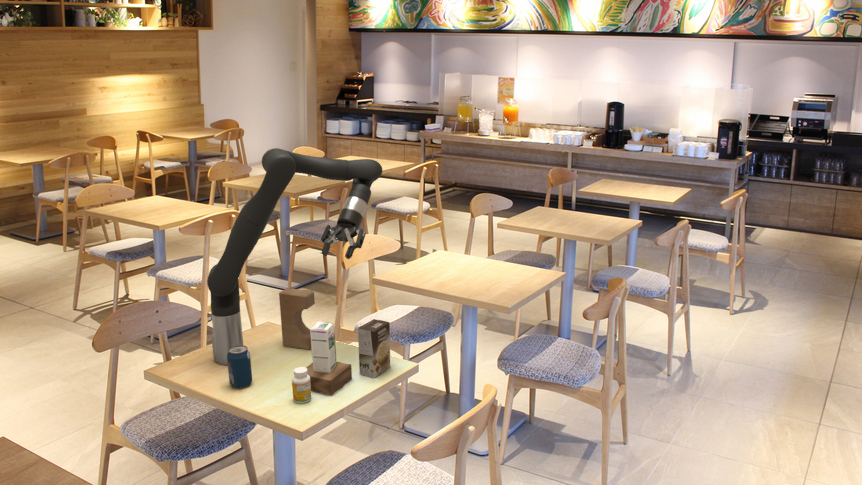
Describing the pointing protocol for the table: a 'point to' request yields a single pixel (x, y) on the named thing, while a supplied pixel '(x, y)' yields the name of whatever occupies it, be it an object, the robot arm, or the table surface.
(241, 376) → the soda can
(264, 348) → the table surface
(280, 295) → the decorative block
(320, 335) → the syrup box
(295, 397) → the supplement bottle
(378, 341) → the coffee box
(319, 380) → the walnut block
